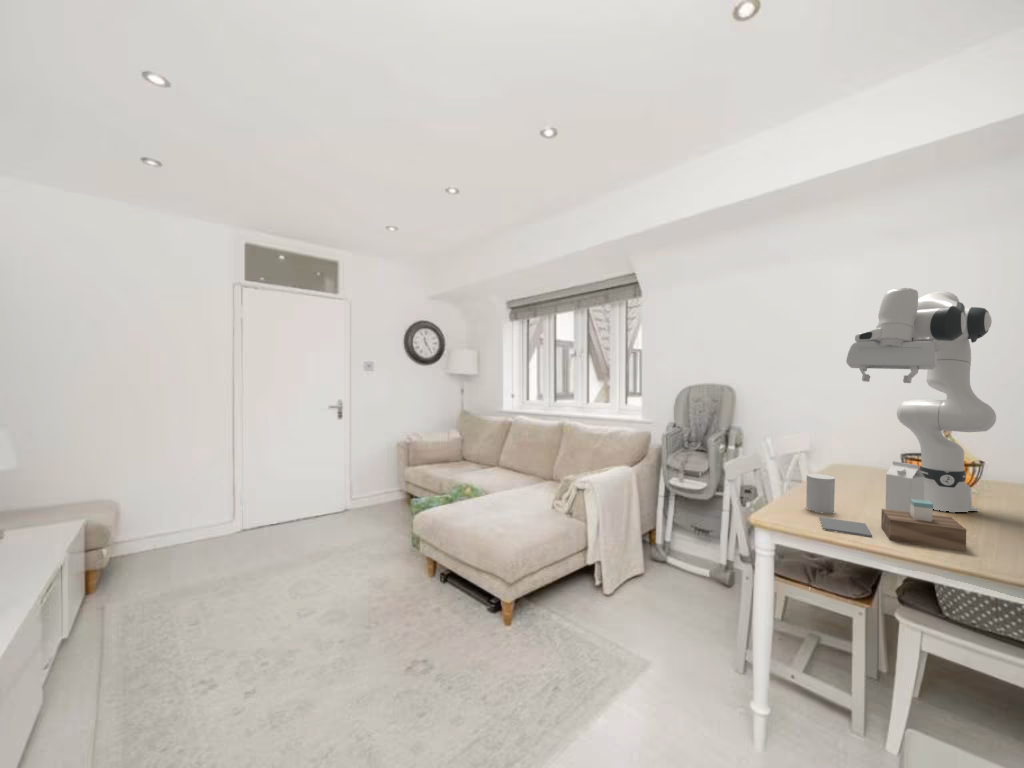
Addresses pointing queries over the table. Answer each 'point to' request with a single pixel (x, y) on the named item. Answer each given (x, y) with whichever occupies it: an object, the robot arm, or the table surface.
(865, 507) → the table surface
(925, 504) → the plug
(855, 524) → the mat
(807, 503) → the cup
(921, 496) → the milk carton
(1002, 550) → the table surface
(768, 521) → the table surface
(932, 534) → the block
